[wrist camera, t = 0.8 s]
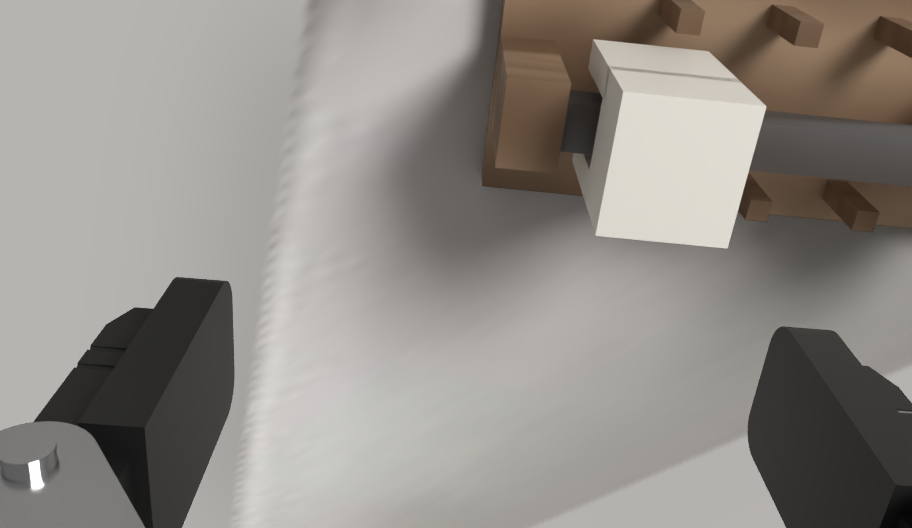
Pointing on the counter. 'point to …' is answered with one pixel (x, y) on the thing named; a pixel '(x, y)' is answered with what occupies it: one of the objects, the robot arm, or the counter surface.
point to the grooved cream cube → (667, 145)
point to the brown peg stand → (755, 65)
